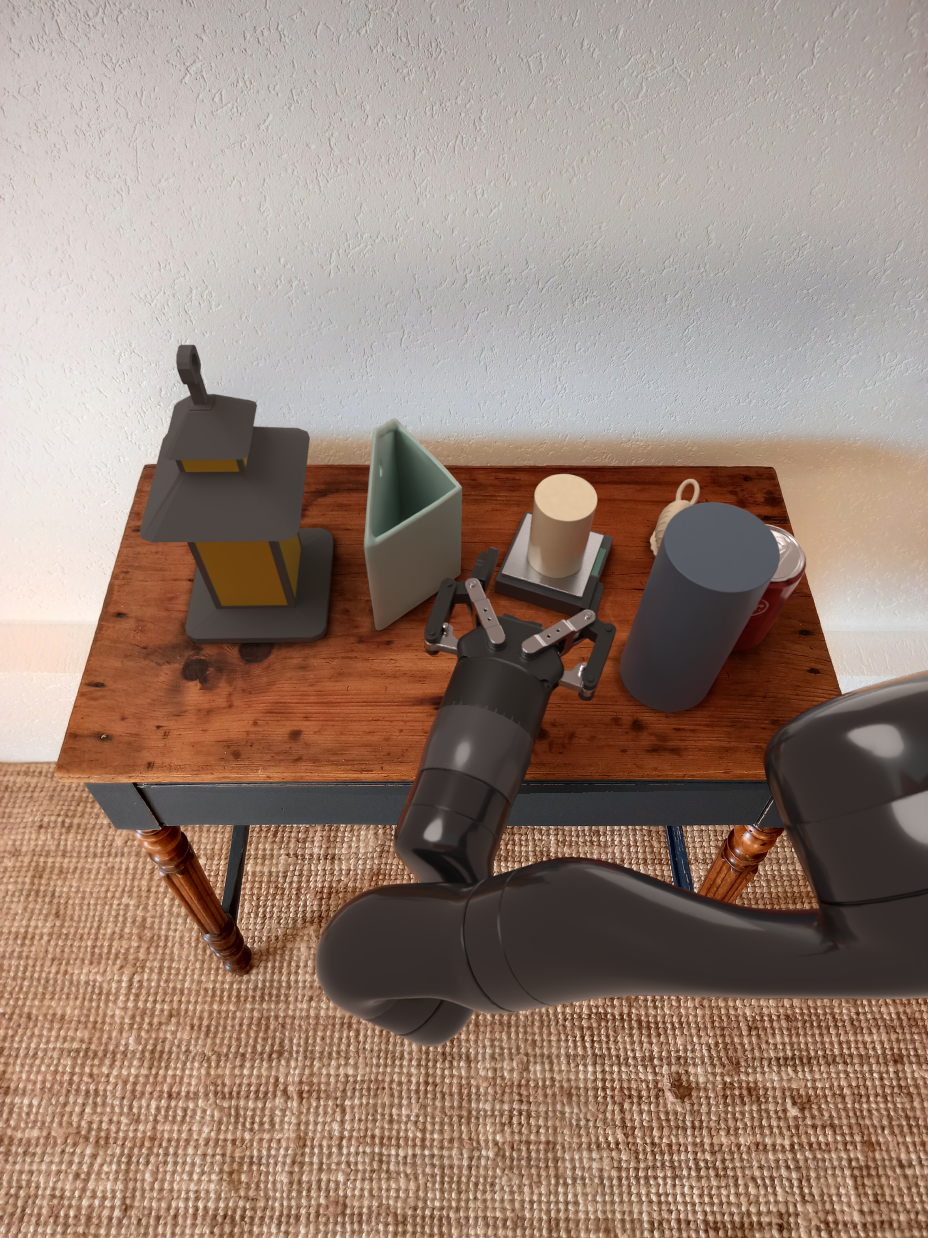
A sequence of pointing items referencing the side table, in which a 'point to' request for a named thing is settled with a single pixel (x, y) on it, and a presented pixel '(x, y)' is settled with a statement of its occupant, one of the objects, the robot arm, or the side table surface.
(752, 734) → the side table surface
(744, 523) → the stand
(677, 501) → the decorative ornament
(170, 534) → the lantern
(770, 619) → the soda can
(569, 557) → the canister
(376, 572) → the planter
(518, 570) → the scale
